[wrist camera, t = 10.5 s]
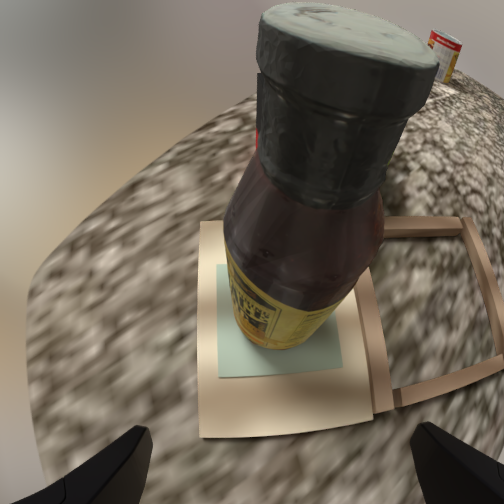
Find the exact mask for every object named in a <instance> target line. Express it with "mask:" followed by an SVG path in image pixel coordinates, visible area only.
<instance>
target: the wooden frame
mask: <svg viewBox="0 0 504 504" xmlns="http://www.w3.org/2000/svg"><path fill="white" fill-rule="evenodd" d="M384 217H385V224H384V235H383V238H401V237H435V236H457V235H458V234H459V233H460V234H461V236H462V239H463V241H464V244H465V246H466V249H467V252H468V254H469V257H470V260H471V262H472V265H473V268H474V271H475V274H476V277H477V280H478V283H479V286H480V289H481V292H482V296H483V299H484V302H485V306H486V310H487V313H488V317H489V321H490V325H491V329H492V334H493V338H494V343H495V348H496V353H497V356H495V357H493V358H491V359H488V360H486V361H483V362H481V363H478V364H475V365H473V366H470V367H467V368H464V369H462V370H459V371H456V372H453V373H450V374H447V375H444V376H441V377H438V378H434V379H431V380H428V381H424V382H421V383H417V384H414V385H410V386H406V387H402V388H398V389H394V390H392V386H391V378H390V371H389V365H388V358H387V352H386V346H385V340H384V335H383V330H382V324H381V319H380V314H379V309H378V305H377V300H376V296H375V291H374V287H373V282H372V278H371V274H370V270H369V267H368V268H367V269H366V270H365V271H364V272H363V273H362V275H361V276H360V277H359V279H358V281H357V283H356V285H355V286H354V288H353V289H352V290H351V292H350V293H349V294H348V295H347V296H346V297H345V299H344V300H343V301H342V302H341V303H340V304H339V306H338V307H337V308H336V309H335V310H334V311H333V312H332V314H331V315H330V316H329V317H328V318H327V319H326V320H325V321H324V322H323V324H322V325H320V327H319V328H318V329H317V330H316V331H315V332H314V333H313V334H312V335H311V336H310V337H309V338H308V339H307V340H306V341H305V342H303V343H301V344H299V345H297V346H295V347H292V348H289V349H286V350H272V349H267V348H265V347H262V346H259V345H256V344H253V343H252V342H251V341H250V340H249V339H248V338H247V337H246V336H245V335H244V334H243V333H242V332H241V330H240V328H239V327H238V325H237V323H236V320H235V317H234V311H233V305H232V298H231V291H230V286H229V277H228V269H227V258H226V251H225V245H224V234H223V220H222V221H203V222H200V240H199V267H198V312H197V365H198V408H199V433H200V437H202V438H232V437H257V436H271V435H283V434H293V433H301V432H309V431H316V430H323V429H329V428H335V427H340V426H346V425H351V424H356V423H361V422H365V421H370V420H373V413H380V412H384V411H388V410H392V409H394V407H403V406H407V405H410V404H413V403H417V402H420V401H423V400H426V399H429V398H433V397H435V396H438V395H441V394H444V393H447V392H450V391H452V390H455V389H458V388H460V387H463V386H466V385H468V384H470V383H473V382H475V381H478V380H480V379H482V378H485V377H487V376H489V375H491V374H494V373H496V372H498V371H500V370H502V369H504V303H503V300H502V296H501V293H500V290H499V287H498V284H497V281H496V278H495V275H494V272H493V269H492V266H491V264H490V261H489V258H488V256H487V253H486V251H485V248H484V246H483V243H482V241H481V238H480V236H479V234H478V231H477V229H476V227H475V225H474V222H473V220H472V218H471V217H463V218H462V219H461V220H460V219H459V217H429V216H384Z"/></svg>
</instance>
